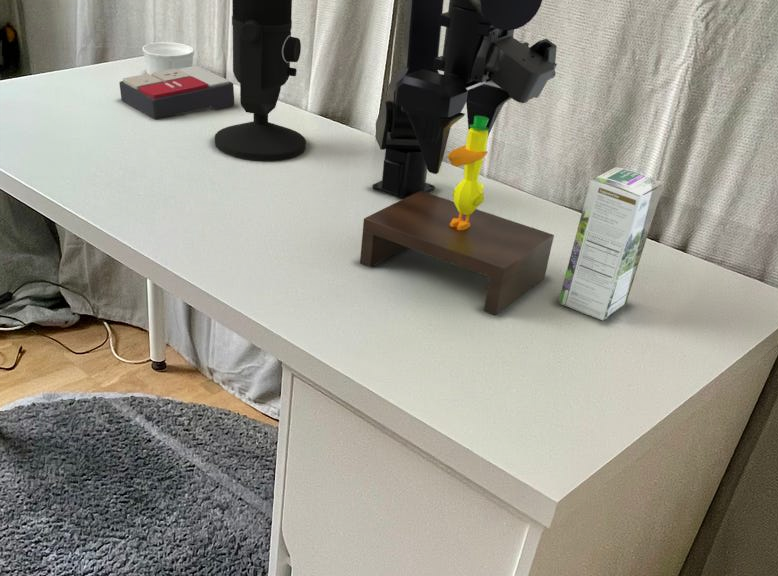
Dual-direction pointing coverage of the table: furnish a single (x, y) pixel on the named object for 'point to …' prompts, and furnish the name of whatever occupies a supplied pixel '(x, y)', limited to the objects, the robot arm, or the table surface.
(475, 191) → the toy figure
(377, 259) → the shelf
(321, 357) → the table surface
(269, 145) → the microphone
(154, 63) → the ramekin
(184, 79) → the grey and red case
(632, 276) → the syrup box
